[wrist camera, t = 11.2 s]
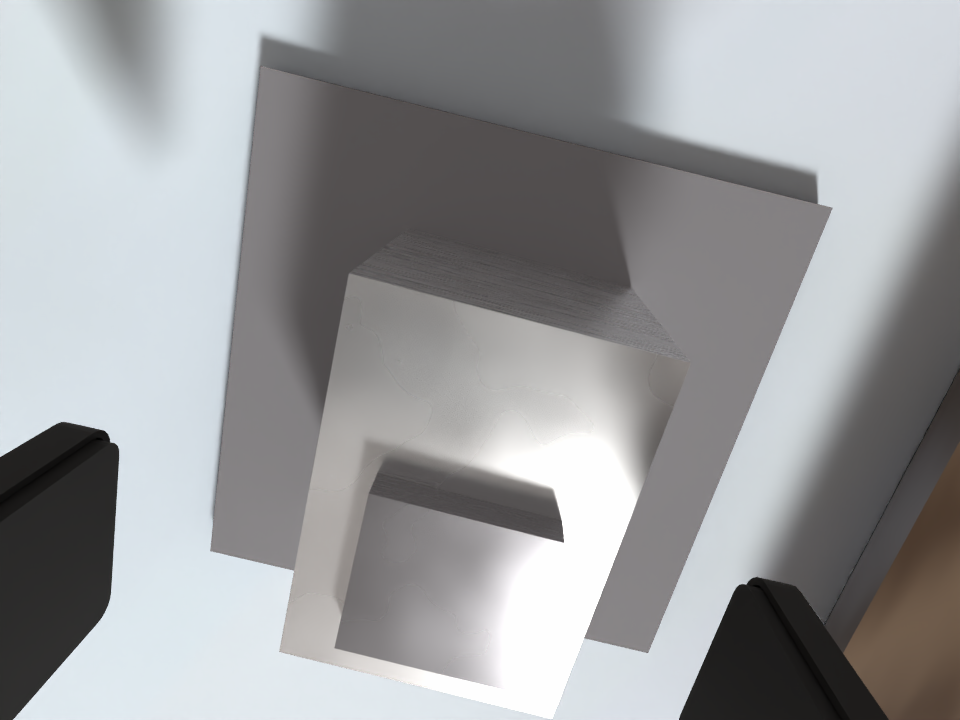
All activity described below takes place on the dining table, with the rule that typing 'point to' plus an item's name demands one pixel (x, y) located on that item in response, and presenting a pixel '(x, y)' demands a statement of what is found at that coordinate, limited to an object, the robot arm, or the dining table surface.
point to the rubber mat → (509, 230)
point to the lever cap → (475, 469)
